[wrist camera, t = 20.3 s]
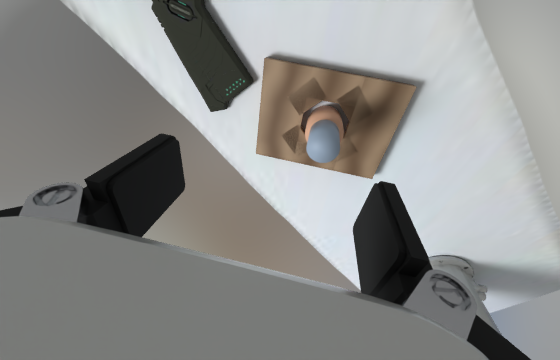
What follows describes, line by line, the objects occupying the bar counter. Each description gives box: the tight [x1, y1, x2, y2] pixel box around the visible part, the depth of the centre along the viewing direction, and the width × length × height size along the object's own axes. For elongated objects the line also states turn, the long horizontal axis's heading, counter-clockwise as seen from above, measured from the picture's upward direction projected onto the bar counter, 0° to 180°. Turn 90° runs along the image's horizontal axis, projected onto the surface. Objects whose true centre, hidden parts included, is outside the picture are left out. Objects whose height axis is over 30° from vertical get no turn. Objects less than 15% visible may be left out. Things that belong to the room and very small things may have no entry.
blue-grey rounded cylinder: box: [306, 120, 340, 163], centre depth 31 cm, size 4×4×5 cm
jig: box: [256, 58, 416, 179], centre depth 36 cm, size 22×16×2 cm
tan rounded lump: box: [305, 106, 344, 143], centre depth 35 cm, size 6×6×5 cm
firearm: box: [152, 0, 253, 112], centre depth 30 cm, size 28×2×15 cm
